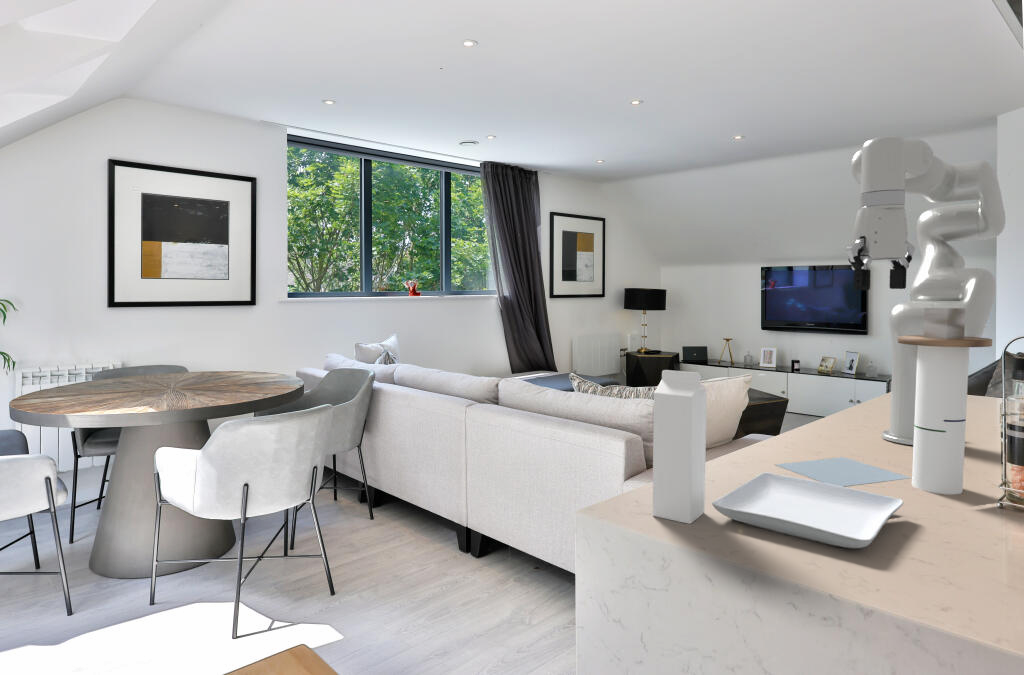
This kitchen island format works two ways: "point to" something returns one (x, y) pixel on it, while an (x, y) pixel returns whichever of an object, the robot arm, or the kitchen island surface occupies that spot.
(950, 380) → the cylindrical container
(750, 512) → the salad plate
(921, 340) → the lid
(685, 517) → the milk
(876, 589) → the kitchen island surface
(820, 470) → the mat
